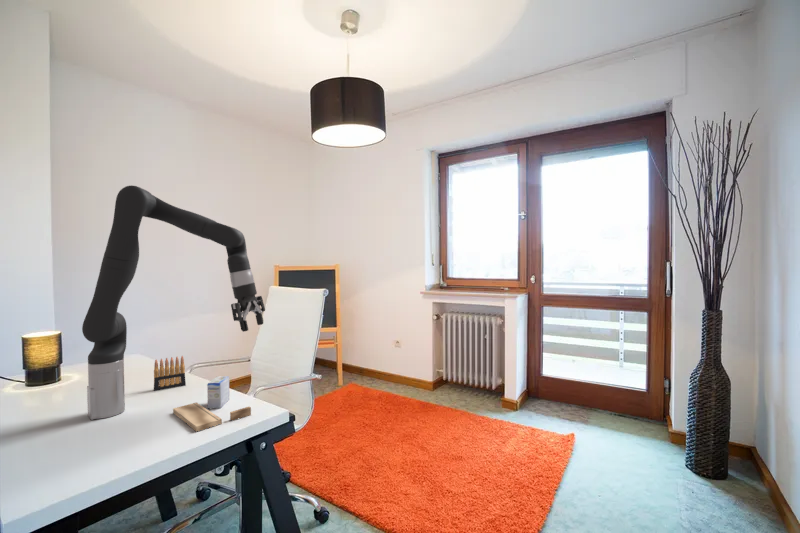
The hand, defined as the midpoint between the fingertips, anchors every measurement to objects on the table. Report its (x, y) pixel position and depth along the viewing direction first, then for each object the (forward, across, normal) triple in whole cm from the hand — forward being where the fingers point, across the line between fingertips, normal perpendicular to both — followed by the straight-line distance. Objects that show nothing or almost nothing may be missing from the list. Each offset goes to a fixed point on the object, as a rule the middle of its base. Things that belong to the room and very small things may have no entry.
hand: (253, 327), depth 134 cm
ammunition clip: (+19, 0, -45) cm, 48 cm away
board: (+22, +22, -10) cm, 33 cm away
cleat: (+24, +18, +3) cm, 31 cm away
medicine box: (+23, +11, -12) cm, 28 cm away
